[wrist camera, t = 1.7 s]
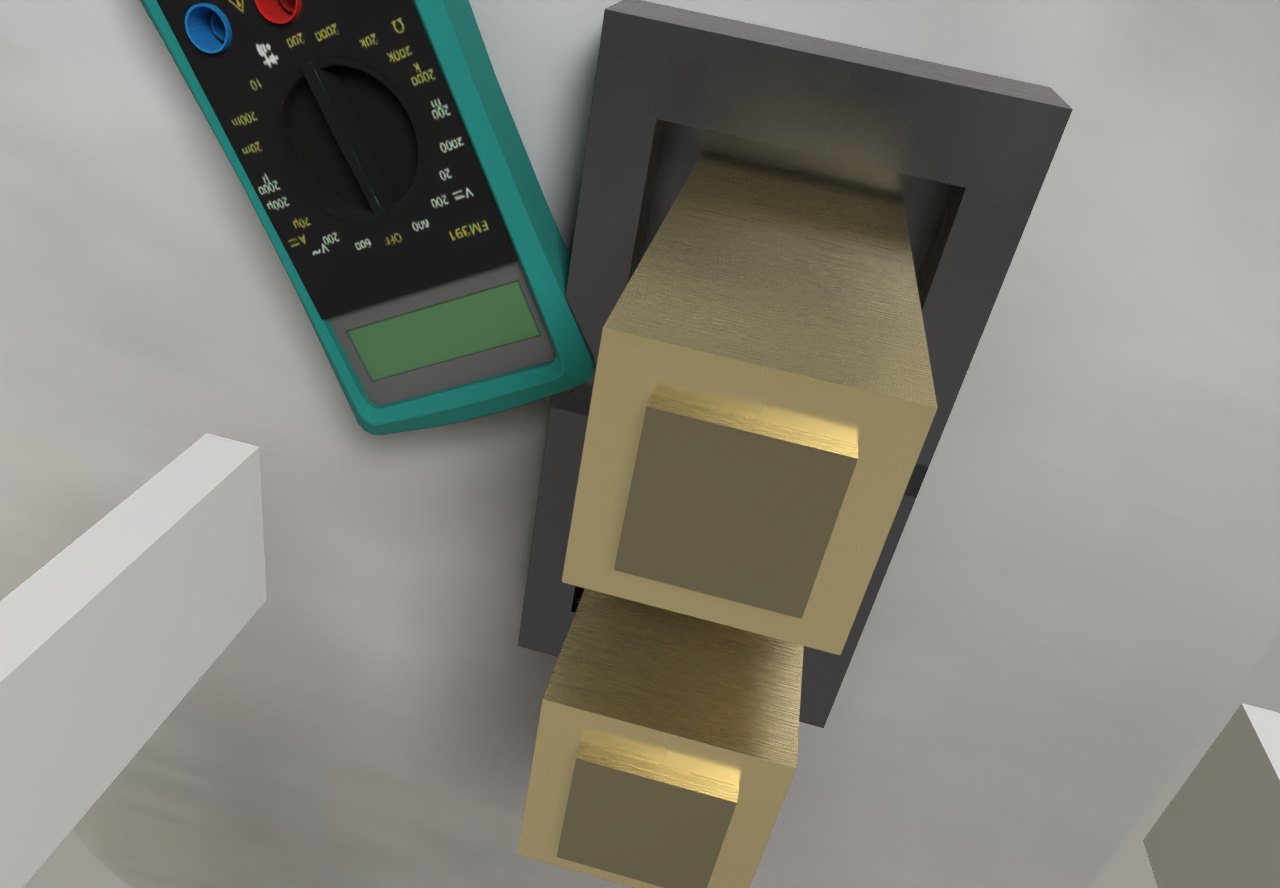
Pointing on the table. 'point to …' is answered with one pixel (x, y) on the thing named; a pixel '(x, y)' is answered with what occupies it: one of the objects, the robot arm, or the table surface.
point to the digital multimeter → (390, 197)
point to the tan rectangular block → (756, 406)
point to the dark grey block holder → (805, 144)
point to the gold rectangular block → (662, 748)
